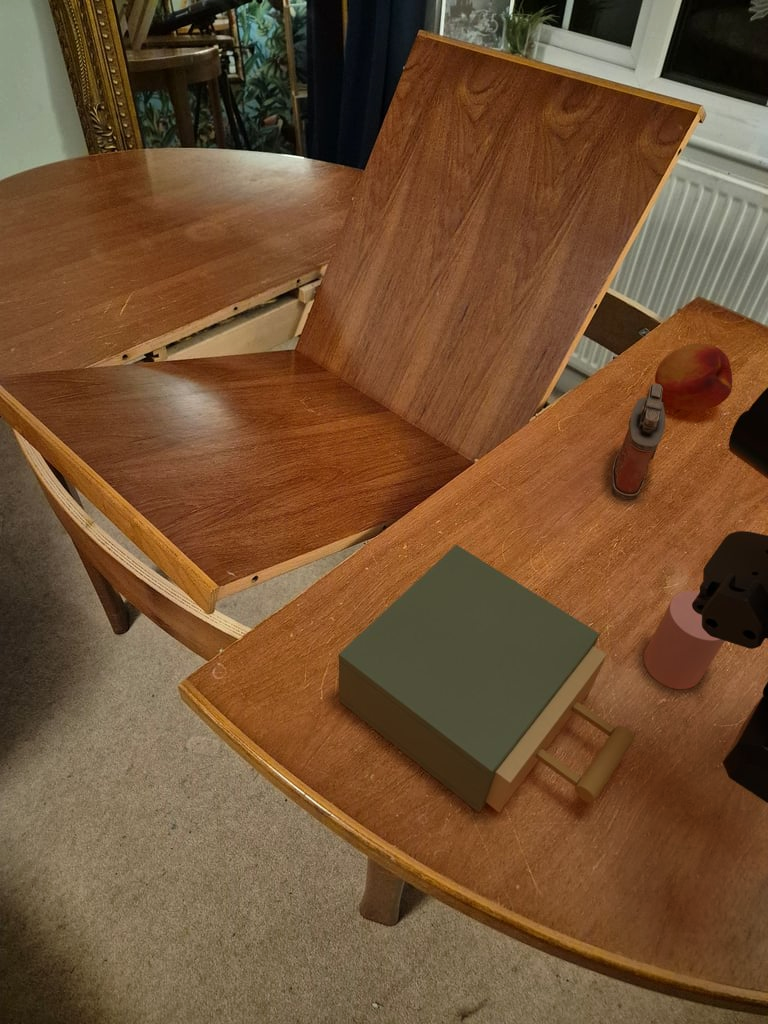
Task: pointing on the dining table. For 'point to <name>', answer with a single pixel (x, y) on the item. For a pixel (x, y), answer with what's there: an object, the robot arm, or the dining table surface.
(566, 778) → the drawer
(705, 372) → the fruit
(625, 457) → the brown elongated piece
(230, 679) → the dining table surface
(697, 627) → the red cylinder
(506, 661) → the cabinet
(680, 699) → the dining table surface
